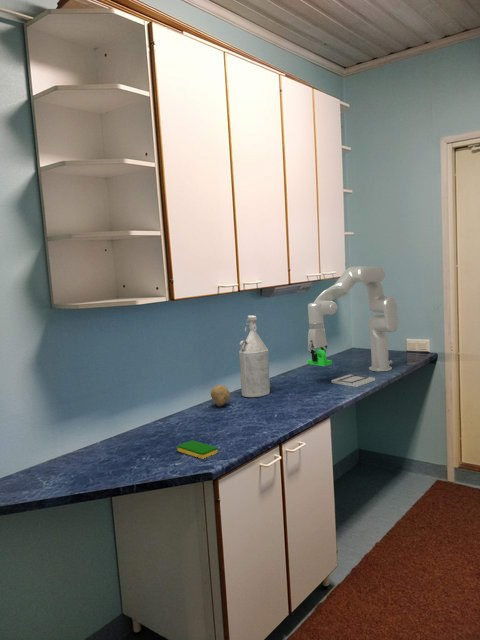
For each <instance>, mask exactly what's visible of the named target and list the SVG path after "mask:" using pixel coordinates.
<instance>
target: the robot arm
mask: <svg viewBox="0 0 480 640" xmlns="http://www.w3.org/2000/svg"><path fill="white" fill-rule="evenodd" d="M385 277H386V272H385V270H384V268H383V267H381V266H372V265H371V266H369V265H368V266H367V265H362V266H361V265H360V266H359V265H356V266H349V267H348V268H346V269H345V271H344V272H343V273H342V274H341V276H340V277H338V279H337V281H336V282H335V283H334V284H333V285H331V286H329V287H328V288H326V289H325V290H323V291H322V292H321V293H320V294H319V295H317V297H316V298H315V300H314V301H313V302H310V303H308V304H307V312H308V314H307V315H308V325H309V326H308V327H309V329H308V335H307V351H308V352H309V353H310V355H311V359H312V361H314V362H317V354H316V352H317V351H318V349H319V350H323V351H325V353H326V352H327V348H328V346H329V342H328V341H327V335H326V329H325V323H324V316H332V315H334V314H336V313H337V311H338V304H337V303H336V302H335V301H334V300H336V299H339V298H341V297H345V296H347V295H348V294H349V292H350V291H351V289H352V288H353V287H354V286H355V285H356V283H362V284H364V286H365V288H366V290H367V299H368V307H369V309H370V311H371V312H372V313H376V314H373V315H371V316H370V317H369V318H368V319H367V320H368V321H367V325H368V330H369V336H370V354H371V356H370V357H371V366H369V367H368V370H369V371H370V372H388V371H392V370H393V369H392V368H393V367H392V366H390V365H391V364H393V360H389V358H390V357H389V338H388V335H387V333H394V332H396V331H397V329H399V328H398V327H399V312H398V303H397V300H396V299H395V297H392V296H389V295H385V294H384V288H383V284H382V281H383V280H384V279H385ZM377 313H378V314H377ZM379 313H380V314H379ZM326 354H327V353H326ZM320 356H321V354H320ZM321 357H322V356H321Z"/></svg>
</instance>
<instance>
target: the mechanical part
mask: <svg viewBox="0 0 480 640" xmlns="http://www.w3.org/2000/svg"><path fill="white" fill-rule="evenodd" d="M316 354H317V362H314V361H312V358H311V359H307V364H308V365H312V366H320V367H327V366H329V365H333V360H332V359H327V353H325V351H323V350H321V349H319V350H317V351H316ZM320 354H321V355H320ZM321 356H322V357H321Z"/></svg>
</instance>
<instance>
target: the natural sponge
mask: <svg viewBox="0 0 480 640" xmlns="http://www.w3.org/2000/svg"><path fill="white" fill-rule="evenodd" d="M210 397H211V400H212V401H213V403H214V404H215V405H216V406H218V407H222V406H224V404H226V403H227V402H229V401H230V399H231V393H230V391H229V389H228V387H226V386H225V385H223V384H217V385H216V386H214V387H212V389H211V390H210Z"/></svg>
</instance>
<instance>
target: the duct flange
mask: <svg viewBox="0 0 480 640" xmlns="http://www.w3.org/2000/svg"><path fill="white" fill-rule="evenodd" d="M375 381H376V377H373V376H372V377H371V376H367V375H360V374H359V375H358V374H347V375H343V376H339V377H337V378H334V379H331V384H336V385H342V386H350V387H356V388H357V387H360V386H363V385H366V384H369V383H372V382H375Z"/></svg>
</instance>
